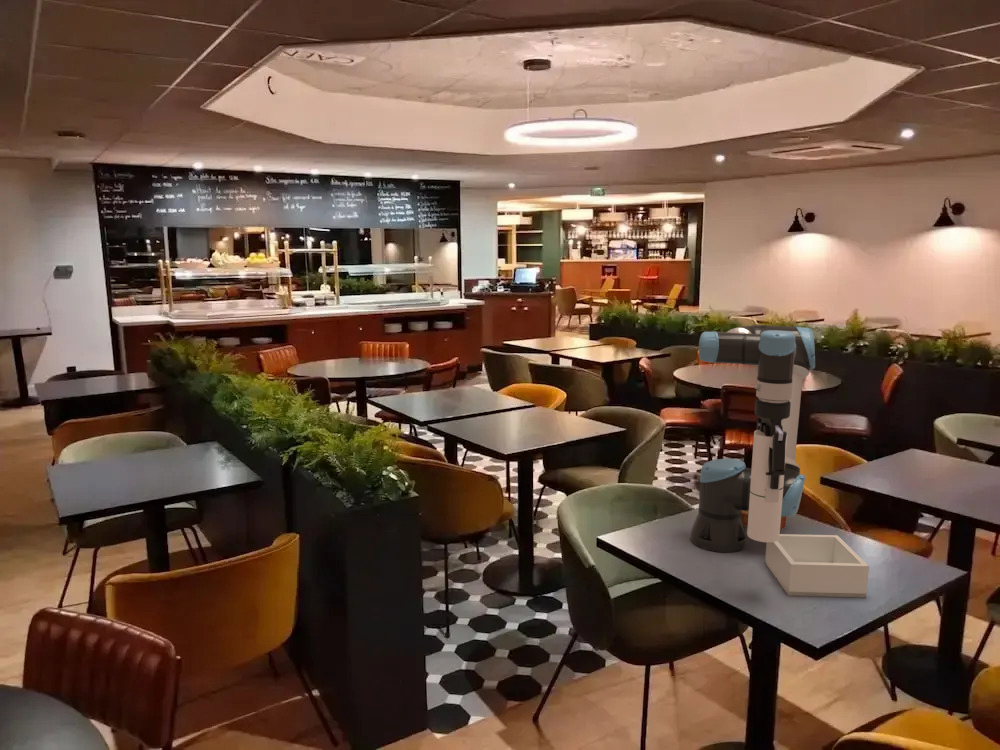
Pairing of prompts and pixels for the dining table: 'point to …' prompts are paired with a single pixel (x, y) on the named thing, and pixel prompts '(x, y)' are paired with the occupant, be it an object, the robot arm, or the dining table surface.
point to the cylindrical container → (763, 494)
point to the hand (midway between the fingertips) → (766, 495)
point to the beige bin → (817, 566)
